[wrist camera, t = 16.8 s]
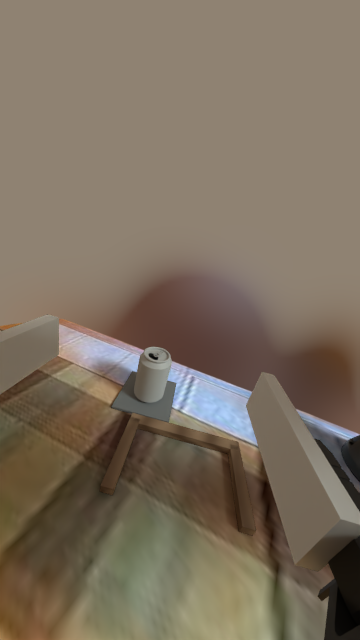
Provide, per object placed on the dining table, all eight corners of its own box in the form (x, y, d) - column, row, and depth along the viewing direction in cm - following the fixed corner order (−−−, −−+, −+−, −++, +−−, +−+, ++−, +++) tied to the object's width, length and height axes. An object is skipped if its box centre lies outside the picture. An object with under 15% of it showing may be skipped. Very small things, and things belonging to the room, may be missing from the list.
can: (127, 389, 45) (134, 347, 41) (152, 379, 50) (160, 342, 46) (143, 410, 41) (153, 366, 36) (168, 397, 46) (179, 358, 42)
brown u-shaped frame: (235, 446, 38) (238, 442, 38) (252, 535, 26) (256, 530, 25) (131, 417, 39) (132, 412, 38) (99, 491, 27) (100, 485, 26)
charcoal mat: (175, 384, 52) (176, 383, 52) (168, 423, 40) (168, 422, 39) (132, 372, 52) (132, 371, 52) (111, 407, 40) (111, 406, 40)
